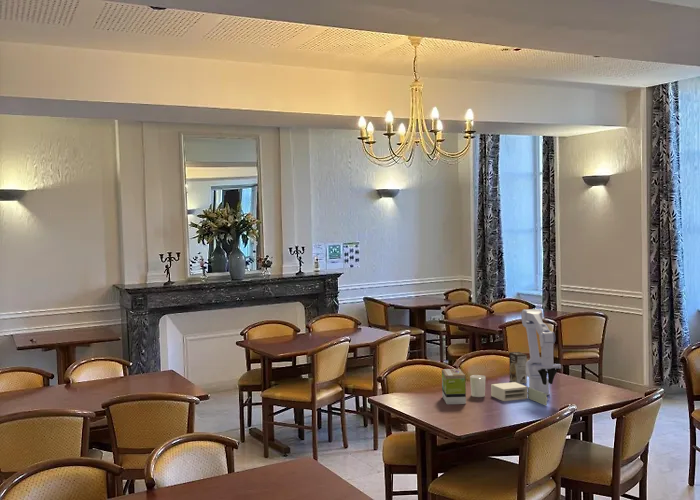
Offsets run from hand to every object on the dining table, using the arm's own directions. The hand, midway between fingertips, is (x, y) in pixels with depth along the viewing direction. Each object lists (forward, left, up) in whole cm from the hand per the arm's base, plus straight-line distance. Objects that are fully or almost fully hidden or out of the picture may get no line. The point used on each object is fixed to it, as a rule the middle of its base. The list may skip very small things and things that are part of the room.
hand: (547, 383), depth 335 cm
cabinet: (+11, -17, -9) cm, 22 cm away
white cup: (+24, -26, -10) cm, 36 cm away
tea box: (+40, -22, -10) cm, 47 cm away
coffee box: (-12, -45, -10) cm, 47 cm away
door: (+4, -3, -9) cm, 10 cm away
